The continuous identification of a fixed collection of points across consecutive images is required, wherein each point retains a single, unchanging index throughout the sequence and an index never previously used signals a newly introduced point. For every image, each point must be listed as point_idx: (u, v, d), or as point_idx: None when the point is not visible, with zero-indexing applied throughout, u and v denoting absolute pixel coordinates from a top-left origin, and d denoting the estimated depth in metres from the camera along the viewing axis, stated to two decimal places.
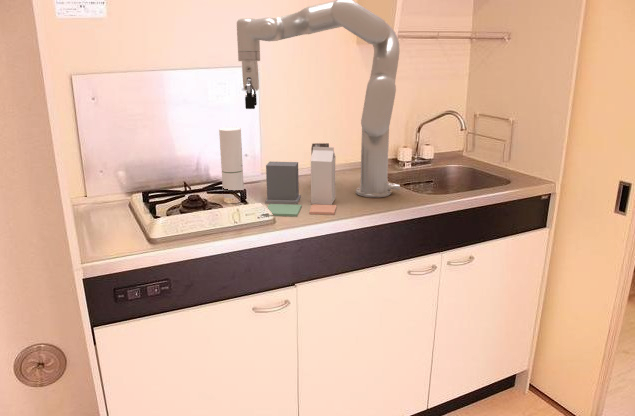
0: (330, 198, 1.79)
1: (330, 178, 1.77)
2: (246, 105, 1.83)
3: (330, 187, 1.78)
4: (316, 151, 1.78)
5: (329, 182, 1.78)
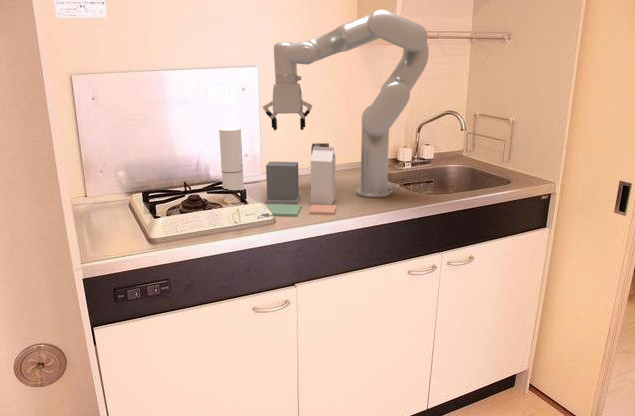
0: (330, 198, 1.79)
1: (330, 178, 1.77)
2: (302, 126, 1.87)
3: (330, 187, 1.78)
4: (316, 151, 1.78)
5: (329, 182, 1.78)
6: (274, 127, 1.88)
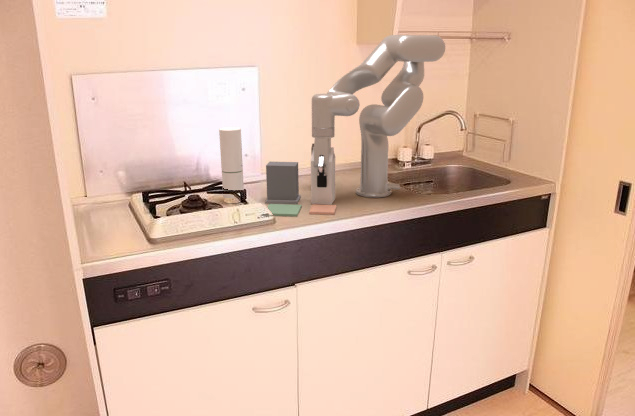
0: (330, 198, 1.79)
1: (330, 178, 1.77)
2: None
3: (330, 187, 1.78)
4: None
5: (329, 182, 1.78)
6: None
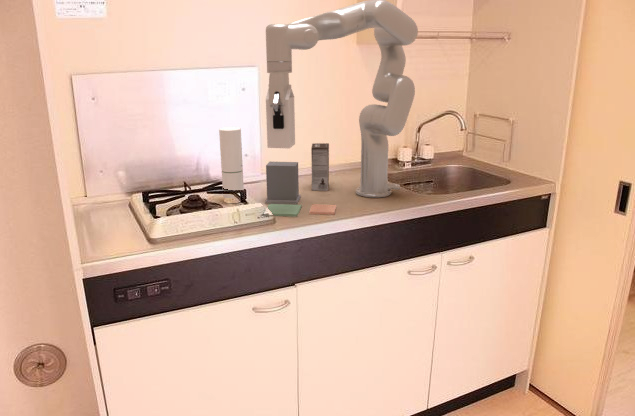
0: (288, 141, 1.63)
1: (287, 118, 1.61)
2: None
3: (287, 128, 1.62)
4: None
5: (286, 123, 1.61)
6: (283, 125, 1.61)
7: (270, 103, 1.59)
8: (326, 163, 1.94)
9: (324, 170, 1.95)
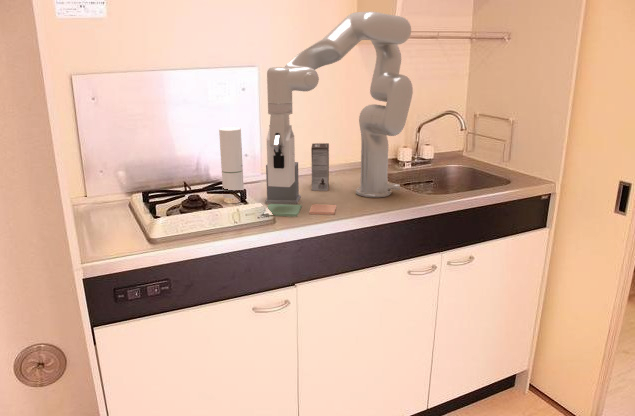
0: (288, 180, 1.66)
1: (287, 158, 1.64)
2: None
3: (288, 168, 1.65)
4: None
5: (286, 163, 1.65)
6: (283, 164, 1.65)
7: (271, 144, 1.62)
8: (326, 163, 1.94)
9: (324, 170, 1.95)
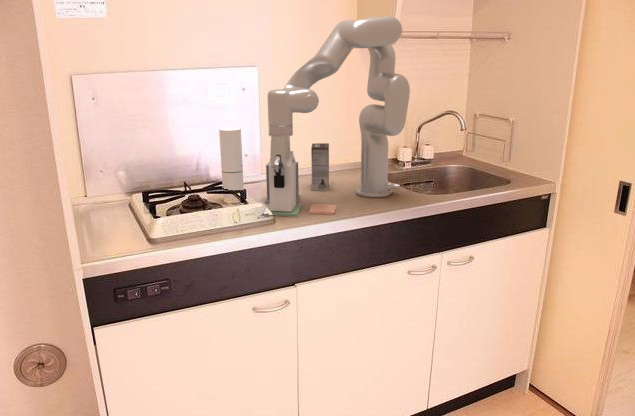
0: (290, 205, 1.69)
1: (289, 183, 1.67)
2: None
3: (289, 193, 1.68)
4: None
5: (288, 188, 1.68)
6: None
7: (272, 165, 1.64)
8: (326, 163, 1.94)
9: (324, 170, 1.95)
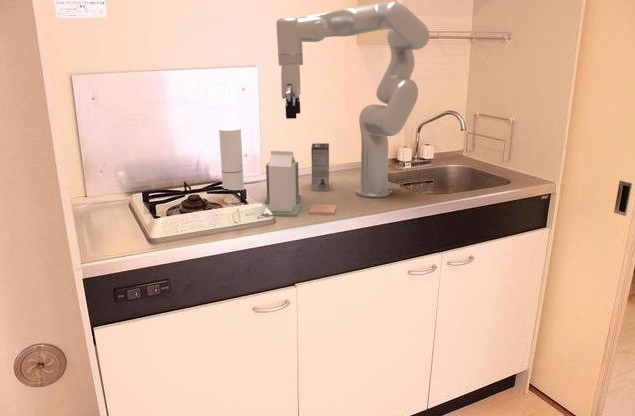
0: (290, 205, 1.69)
1: (289, 184, 1.67)
2: None
3: (289, 194, 1.68)
4: (274, 155, 1.68)
5: (288, 188, 1.67)
6: None
7: (283, 95, 1.63)
8: (326, 163, 1.94)
9: (324, 170, 1.95)
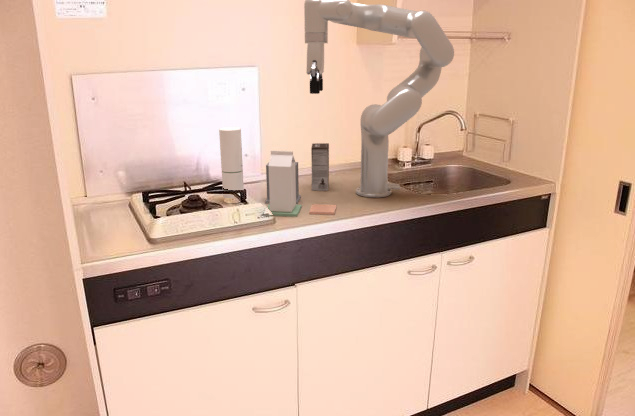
0: (290, 205, 1.69)
1: (289, 184, 1.67)
2: None
3: (289, 194, 1.68)
4: (274, 155, 1.68)
5: (288, 188, 1.67)
6: None
7: (308, 71, 1.73)
8: (326, 163, 1.94)
9: (324, 170, 1.95)
